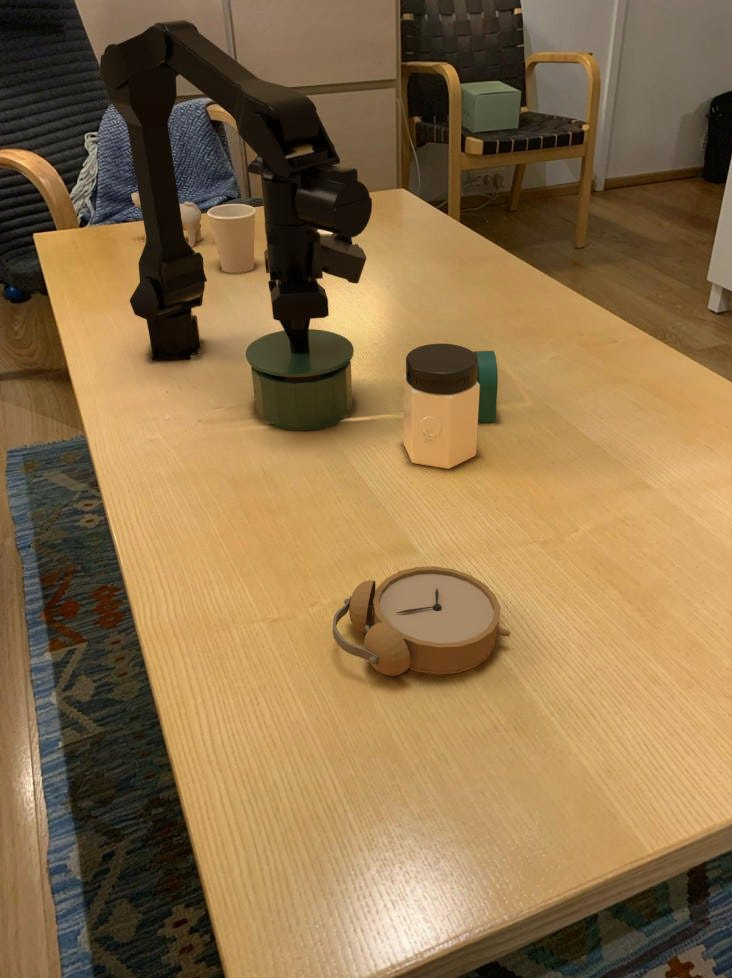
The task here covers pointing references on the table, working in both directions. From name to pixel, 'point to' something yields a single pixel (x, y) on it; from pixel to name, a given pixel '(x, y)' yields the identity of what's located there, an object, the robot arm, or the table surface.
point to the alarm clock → (423, 621)
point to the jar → (441, 405)
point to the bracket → (487, 385)
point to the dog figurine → (184, 218)
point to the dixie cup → (234, 236)
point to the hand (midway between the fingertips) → (299, 347)
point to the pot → (303, 399)
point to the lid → (300, 354)
